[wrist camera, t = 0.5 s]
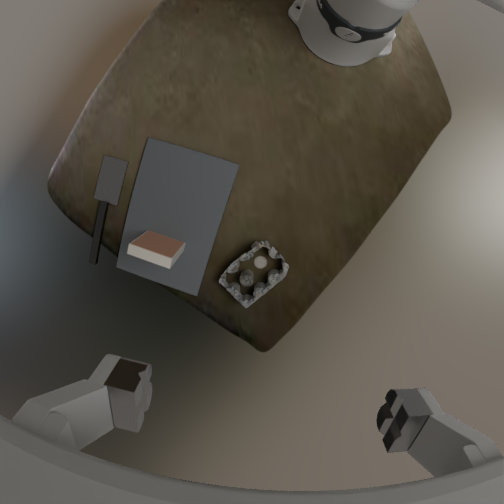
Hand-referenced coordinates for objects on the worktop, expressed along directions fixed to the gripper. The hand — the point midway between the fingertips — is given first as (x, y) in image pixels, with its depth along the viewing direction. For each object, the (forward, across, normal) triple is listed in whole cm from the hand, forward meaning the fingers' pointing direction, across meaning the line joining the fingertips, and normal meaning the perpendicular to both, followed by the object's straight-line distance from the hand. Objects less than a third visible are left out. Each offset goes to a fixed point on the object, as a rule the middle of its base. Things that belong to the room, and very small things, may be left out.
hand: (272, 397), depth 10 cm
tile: (+44, +15, +8) cm, 47 cm away
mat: (+45, +14, +4) cm, 47 cm away
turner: (+45, +28, +4) cm, 53 cm away
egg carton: (+45, -1, +11) cm, 47 cm away
